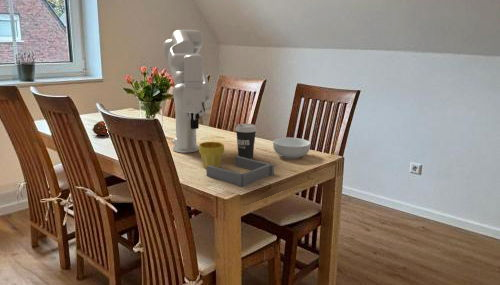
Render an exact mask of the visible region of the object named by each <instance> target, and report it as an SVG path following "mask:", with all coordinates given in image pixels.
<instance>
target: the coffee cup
mask: <svg viewBox="0 0 500 285" xmlns="http://www.w3.org/2000/svg"><path fill="white" fill-rule="evenodd" d="M235 131H236V145H237V156H240V157H244V158H248V159H252V160H254V152H255V151H254V150H255V142H256V134H257V133H256V132H258V130H257V127H256V125H255V124H253V123H238V124H237V125H236V127H235Z"/></svg>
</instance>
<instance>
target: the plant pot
mask: <svg viewBox="0 0 500 285" xmlns="http://www.w3.org/2000/svg"><path fill="white" fill-rule="evenodd" d="M198 146H199V150H198V152H199V154H200V156H201V160H202V166H203V168H204V169H206V170H207V166H208V165H211V166H214V167H218V168H220V166H221V161H222V157H223V154H224V153H225V144H224V143H222V142H220V141H204V142H201V143H200V144H199V145H198Z"/></svg>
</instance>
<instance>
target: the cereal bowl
mask: <svg viewBox="0 0 500 285" xmlns="http://www.w3.org/2000/svg"><path fill="white" fill-rule="evenodd" d="M272 145H273V146H272V147H273V150H274V151H275V153H276V154H277V155H279V156H282V157H283V158H284V159H289V160H290V159H291V160H295V159H299V158H301V157H304V156H306V155H307V154H308V153H309V152H310V149H311V142H310V141H309V140H307V139H303V138H298V137H289V136H287V137H278V138H276V139H274V140H273V142H272Z"/></svg>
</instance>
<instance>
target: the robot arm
mask: <svg viewBox="0 0 500 285" xmlns="http://www.w3.org/2000/svg"><path fill="white" fill-rule="evenodd" d="M203 37H204V36H203V34H202V32H201V31H200V30H198V29H177V30H175V31H174V32H173V33H172V35H171V38H169V39H166V40H165V41H164V42H163V44H162V49H163V50H162V51H163V56H164V59H165V61H166V63H167V65H168V66H169V68H170V71H171V76H172V81H173V83H174V86H173V88H172V89H173V90H172V96H173V102H174V109H175V110H174V111H175V138H174V139H173V140H172V141H171V142H172V143H173V144H174V146H173V148H172V150H173V151H174V152H175V153H183V154H186V153H188V154H189V153H195V152H199V145H197V130H198V129H199V127H200V125H199V124H200V123H199V120H200V119H201V117H204V116H205V111H206V110H207V109H206V108H207V107H206V105H207V103H209V102H210V101H211V100H212V99H211V98H212V90H211V86H210V83H209V80H208V75H207V73H206V71H205V69H204V63H205V62H204V58H203V56H202V55H201V54H200V53H199V52H200V51H201V49H202V47H203V45H204V44H203V43H204V38H203Z"/></svg>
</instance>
